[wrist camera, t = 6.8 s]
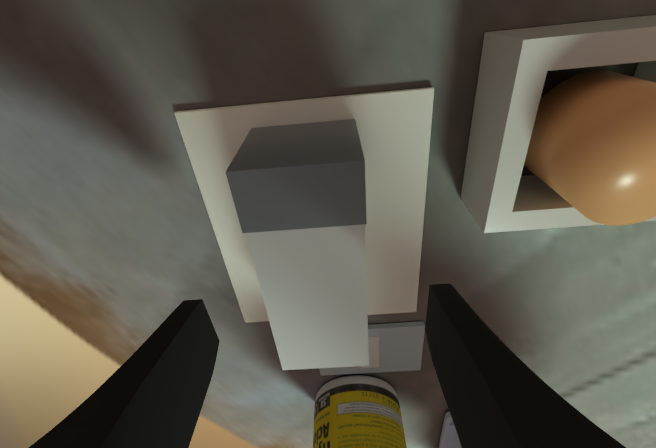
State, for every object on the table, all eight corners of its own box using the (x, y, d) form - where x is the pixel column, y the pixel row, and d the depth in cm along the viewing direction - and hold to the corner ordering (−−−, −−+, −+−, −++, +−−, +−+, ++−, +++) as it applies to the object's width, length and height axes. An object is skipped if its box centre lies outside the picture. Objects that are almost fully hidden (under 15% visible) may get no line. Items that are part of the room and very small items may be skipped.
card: (419, 365, 20) (420, 371, 20) (320, 371, 21) (320, 376, 20) (423, 321, 18) (425, 326, 18) (313, 328, 18) (312, 333, 18)
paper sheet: (415, 309, 18) (416, 312, 17) (245, 319, 18) (245, 323, 18) (432, 87, 11) (434, 88, 11) (176, 111, 12) (173, 113, 12)
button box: (611, 186, 14) (662, 220, 12) (460, 198, 14) (484, 233, 12) (684, 11, 10) (775, 14, 8) (484, 32, 11) (523, 40, 8)
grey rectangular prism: (362, 300, 17) (370, 367, 14) (289, 305, 17) (281, 372, 14) (354, 118, 12) (364, 160, 9) (251, 127, 12) (225, 171, 9)
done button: (612, 174, 12) (687, 220, 9) (509, 183, 12) (556, 229, 10) (658, 64, 10) (768, 86, 8) (534, 76, 10) (601, 101, 8)
